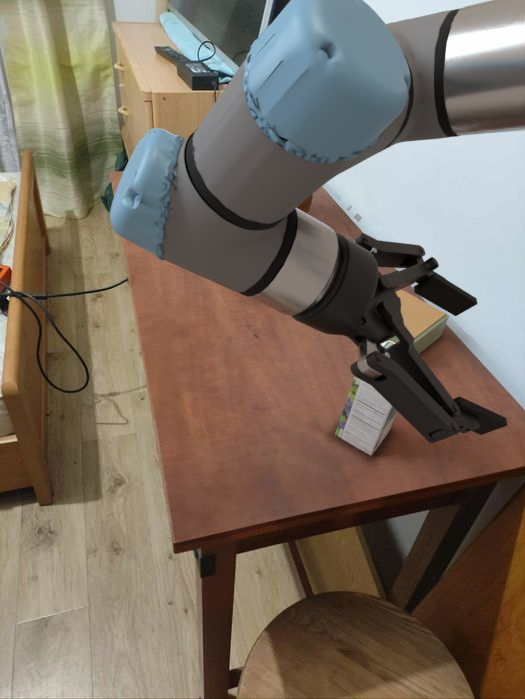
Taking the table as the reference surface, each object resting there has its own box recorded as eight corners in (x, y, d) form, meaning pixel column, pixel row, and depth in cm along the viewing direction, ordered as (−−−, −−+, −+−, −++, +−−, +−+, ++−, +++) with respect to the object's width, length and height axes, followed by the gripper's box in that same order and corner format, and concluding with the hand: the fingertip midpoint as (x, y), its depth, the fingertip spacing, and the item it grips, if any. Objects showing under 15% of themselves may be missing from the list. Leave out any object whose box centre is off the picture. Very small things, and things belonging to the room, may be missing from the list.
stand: (440, 336, 89) (450, 313, 86) (404, 366, 82) (413, 342, 79) (384, 304, 95) (391, 282, 92) (345, 329, 88) (351, 305, 85)
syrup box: (353, 412, 73) (379, 334, 64) (390, 433, 71) (423, 355, 61) (334, 435, 69) (358, 356, 60) (372, 458, 67) (404, 379, 58)
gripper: (283, 197, 49) (429, 284, 59) (279, 437, 36) (469, 498, 46) (336, 142, 44) (486, 247, 54) (354, 398, 30) (550, 477, 40)
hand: (478, 362), depth 50 cm, fingers open, 13 cm apart
